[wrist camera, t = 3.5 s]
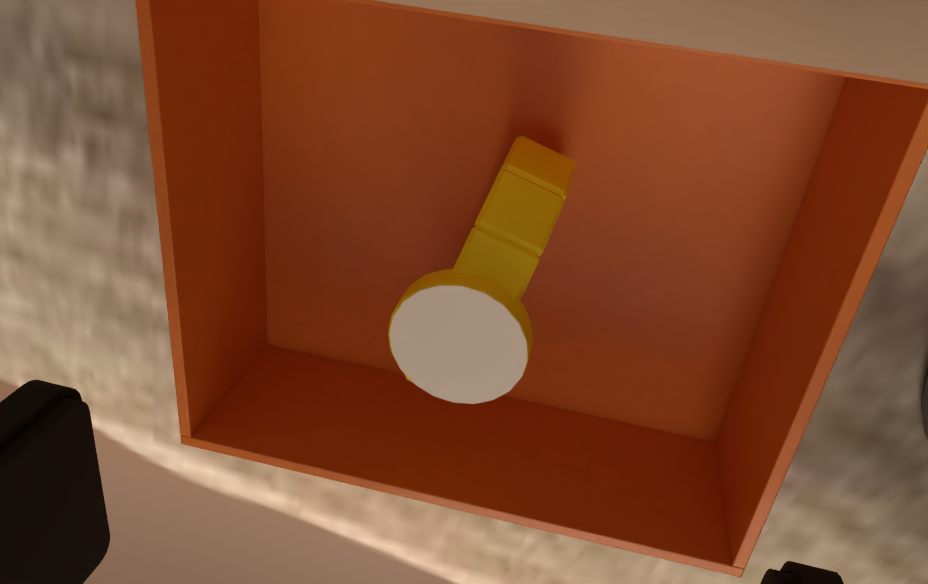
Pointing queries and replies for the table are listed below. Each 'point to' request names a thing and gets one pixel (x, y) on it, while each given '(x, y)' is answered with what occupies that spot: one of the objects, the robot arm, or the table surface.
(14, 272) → the table surface
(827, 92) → the carton
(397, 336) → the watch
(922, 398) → the canister
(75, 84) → the table surface
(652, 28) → the flap
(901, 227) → the table surface
